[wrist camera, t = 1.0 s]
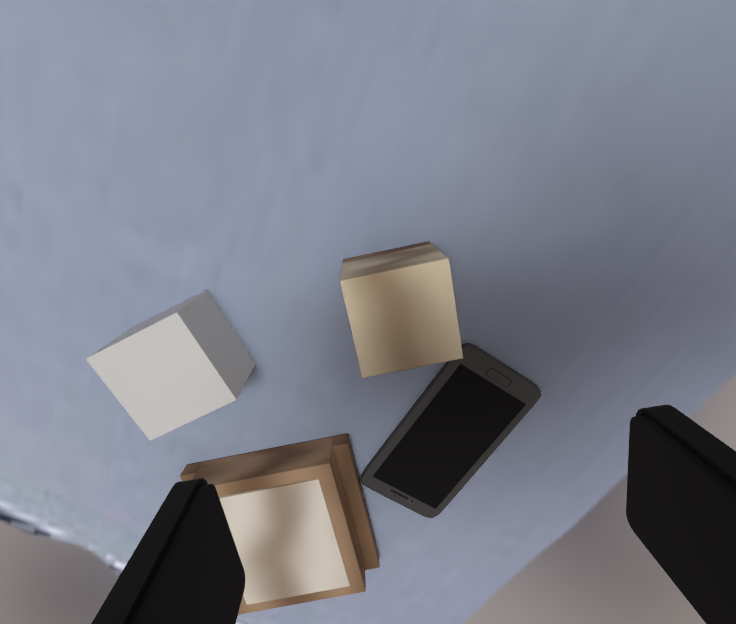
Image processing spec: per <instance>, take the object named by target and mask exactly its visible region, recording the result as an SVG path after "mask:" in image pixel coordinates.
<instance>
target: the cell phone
mask: <svg viewBox="0 0 736 624" xmlns="http://www.w3.org/2000/svg"><path fill="white" fill-rule="evenodd" d="M461 347H462V354H463V358H462V359H457V360H452V361H447V362H446V364H445V365H444V366H443V368H442V369H441V370H440V372H439V373H438V374H437V375H436V377H435V378H434V379H433V381H432V382H431V383H430V385H429V386H428V387H427V388H426V390H425V391H424V392H423V394H422V395H421V396H420V398H419V399H418V400H417V401H416V403H415V404H414V405H413V407H412V408H411V409H410V411H409V412H408V413H407V414H406V416H405V417H404V418H403V420H402V421H401V422H400V424H399V425H398V426H397V427H396V429H395V430H394V431H393V433H392V434H391V435H390V437H389V438H388V439H387V440H386V442H385V443H384V444H383V446H382V447H381V448H380V450H379V451H378V452H377V453H376V455H375V456H374V457H373V459H372V460H371V461H370V463H369V464H368V465H367V467H366V468H365V470H364V471H363V473H362V475H361V482H362V483H363V485H365V486H366V487H368V488H370V489H371V490H373V491H375V492H377V493H379V494H381V495H383V496H385V497H387V498H389V499H391V500H393V501H395V502H397V503H399V504H401V505H403V506H405V507H407V508H409V509H411V510H413V511H415V512H417V513H419V514H421V515H423V516H425V517H429V518H433V517H435V516H437V515H439V514H440V513H441V512H442V510H443V509H444V508H445V507H446V506H447V505H448V504H449V503H450V501H451V500H452V499H453V498H454V497H455V496H456V494H457V493H458V492H459V491H460V490H461V489H462V488H463V486H464V485H465V484H466V483H467V482H468V481H469V479H470V478H471V477H472V476H473V475H474V474H475V473H476V471H477V470H478V469H479V468H480V467H481V466H482V464H483V463H484V462H485V461H486V460H487V459H488V457H489V456H490V455H491V454H492V453H493V452H494V451H495V449H496V448H497V447H498V446H499V445H500V444H501V442H502V441H503V440H504V439H505V438H506V437H507V435H508V434H509V433H510V432H511V431H512V430H513V429H514V427H515V426H516V425H517V424H518V423H519V422H520V420H521V419H522V418H523V417H524V416H525V415H526V414H527V412H528V411H529V410H530V409H531V408H532V407H533V405H534V404H535V403H536V402H537V400H538V399H539V398H540V396H541V392H540V389H539V388H538V386H537V385H535V384H534V383H533V382H532V381H530V380H528V379H527V378H525V377H524V376H522V375H521V374H519V373H517V372H516V371H514V370H513V369H511V368H509V367H508V366H506V365H505V364H503V363H502V362H500V361H498V360H497V359H495V358H494V357H492V356H490V355H489V354H487V353H486V352H484V351H483V350H481V349H479V348H478V347H476V346H474V345H471V344H462V345H461Z"/></svg>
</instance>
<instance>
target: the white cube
mask: <svg viewBox="0 0 736 624" xmlns="http://www.w3.org/2000/svg"><path fill="white" fill-rule="evenodd" d="M86 360H87V361H88V362H89V364H90V365H91V366H92V368H93V369H94V370H95V371H96V373H97V374H98V375H99V376H100V378H101V379H102V380H103V382H104V383H105V384H106V385H107V387H108V388H109V389H110V390H111V392H112V393H113V394H114V396H115V397H116V398H117V399H118V401H119V402H120V403H121V404H122V406H123V407H124V408H125V409H126V411H127V412H128V413H129V415H130V416H131V417H132V418H133V420H134V421H135V422H136V423H137V425H138V426H139V427H140V429H141V430H142V431H143V432H144V434H145V435H146V436H147V437H148V439H149V440H150V441H151V440H153V439H155V438H157V437H159V436H161V435H163V434H165V433H167V432H170V431H172V430H174V429H176V428H178V427H180V426H182V425H184V424H187V423H189V422H191V421H193V420H195V419H197V418H199V417H201V416H203V415H206V414H208V413H210V412H212V411H214V410H216V409H218V408H220V407H222V406H225V405H227V404H229V403H231V402H233V401H235V400H237V398H238V396H239V394H240V392H241V391H242V389H243V387H244V385H245V383H246V381H247V379H248V378H249V376H250V374H251V372H252V370H253V368H254V366H255V365H256V363H255V362H254V360H253V359H252V357H251V356H250V354H249V352H248V351H247V349H246V348H245V346H244V345H243V343H242V342H241V340H240V339H239V337H238V335H237V334H236V332H235V331H234V329H233V328H232V326H231V325H230V323H229V321H228V320H227V318H226V317H225V315H224V314H223V312H222V311H221V309H220V307H219V306H218V304H217V303H216V301H215V300H214V298H213V297H212V295H211V294H210V292H209V290H206V291H204V292H202V293H200V294H198V295H196V296H194V297H192V298H190V299H188V300H186V301H184V302H182V303H180V304H178V305H176V306H174V307H172V308H170V309H169V310H167V311H165V312H163V313H161V314H159V315H157V316H155V317H153V318H151V319H149V320H147V321H145V322H143V323H141V324H139V325H137V326H135V327H133V328H131V329H130V330H128V331H127V332H125V333H124V334H122V335H121V336H119V337H118V338H116V339H115V340H113V341H112V342H110V343H109V344H107V345H106V346H104V347H103V348H101V349H100V350H98V351H97V352H95V353H94V354H92V355H91V356H89V357H88V358H86Z"/></svg>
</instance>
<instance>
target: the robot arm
mask: <svg viewBox="0 0 736 624" xmlns="http://www.w3.org/2000/svg"><path fill="white" fill-rule="evenodd" d="M627 482H628V483H627V505H626V515H627V519H628V522H629V524H630V526H631V528H632V529H633V531H634V533H635V534H636V535H637V536H638V538H639V539H640V540H641V542H642V543H643V544H644V545H645V547H646V548H647V549H648V550H649V552H650V553H651V554H652V555H653V557H654V558H655V559H656V560H657V562H658V563H659V564H660V565H661V567H662V568H663V569H664V571H665V572H666V573H667V574H668V576H669V577H670V578H671V579H672V581H673V582H674V583H675V585H676V586H677V587H678V588H679V590H680V591H681V592H682V593H683V595H684V596H685V597H686V598H687V600H688V601H689V602H690V604H691V605H692V606H693V607H694V609H695V610H696V611H697V612H698V614H699V615H700V616H701V617H702V619H703V620H704V621H705V623H706V624H736V451H734V450H733V449H732V448H730V447H729V446H727V445H726V444H725V443H723V442H721V441H720V440H719V439H718V438H716V437H715V436H713V435H712V434H710V433H709V432H708V431H706V430H705V429H704V428H702V427H701V426H699V425H698V424H697V423H695V422H694V421H692V420H691V419H690V418H688V417H687V416H685V415H684V414H683V413H681V412H680V411H678V410H677V409H676V408H674V407H672V406H670V405H661V406H655V407H649V408H643V409H640V410H638V412H637V413H636V417H633V418H632V419H631V420H630V434H629V458H628V481H627ZM244 589H245V571H244V568H243V565H242V562H241V559H240V556H239V554H238V551H237V548H236V545H235V542H234V539H233V536H232V533H231V531H230V528H229V525H228V522H227V519H226V516H225V513H224V510H223V507H222V505H221V502H220V499H219V496H218V493H217V490H216V488H215V486H214V485H213V484H208V483H207V481H206V480H205V479H203V478H200V479H194V480H187V481H181V482H177V483H175V485H174V486H173V487H172V489H171V491H170V492H169V494H168V496H167V497H166V499H165V501H164V502H163V504H162V506H161V507H160V509H159V511H158V512H157V514H156V516H155V518H154V519H153V521H152V523H151V524H150V526H149V528H148V529H147V531H146V533H145V534H144V536H143V538H142V539H141V541H140V543H139V544H138V546H137V548H136V550H135V551H134V553H133V555H132V556H131V558H130V560H129V561H128V563H127V565H126V566H125V568H124V570H123V571H122V573H121V575H120V576H119V578H118V580H117V582H116V583H115V585H114V587H113V588H112V590H111V592H110V593H109V595H108V597H107V598H106V600H105V602H104V604H103V605H102V607H101V609H100V610H99V612H98V614H97V615H96V617H95V619H94V620H93V622H92V624H235V623H236V619H237V616H238V612H239V608H240V604H241V601H242V597H243V593H244Z"/></svg>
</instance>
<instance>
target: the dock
mask: <svg viewBox="0 0 736 624" xmlns="http://www.w3.org/2000/svg"><path fill="white" fill-rule="evenodd" d="M180 477H181V479H182V481H187V480H194V479H200V478H203V479H205V480H206V481H207V483H208V484H213V485H214V486H215V488H216V490H217V493H218V496H219V499H220V502H221V505H222V507H223V510H224V513H225V516H226V519H227V522H228V525H229V528H230V531H231V533H232V536H233V539H234V542H235V545H236V548H237V551H238V554H239V556H240V559H241V562H242V565H243V568H244V571H245V589H244V593H243V597H242V601H241V604H240V608H239V612H238V614H244V613H249V612H255V611H260V610H266V609H271V608H277V607H282V606H288V605H293V604H299V603H304V602H310V601H315V600H321V599H326V598H332V597H337V596H343V595H348V594H354V593H359V592H365V591H366V589H365V570H367V569H373V568H378V567H380V566H379V553H378V550H377V546H376V542H375V538H374V534H373V530H372V526H371V522H370V518H369V514H368V510H367V507H366V503H365V499H364V495H363V491H362V487H361V483H360V479H359V475H358V471H357V467H356V464H355V460H354V456H353V452H352V448H351V444H350V440H349V436H348V434H343V435H337V436H332V437H327V438H322V439H317V440H312V441H307V442H301V443H296V444H291V445H286V446H281V447H276V448H271V449H265V450H260V451H255V452H250V453H245V454H240V455H235V456H229V457H224V458H219V459H214V460H209V461H204V462H199V463H193V464H188V465H186V467H185V468H184V470H183V472H182V473H181V475H180Z"/></svg>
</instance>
